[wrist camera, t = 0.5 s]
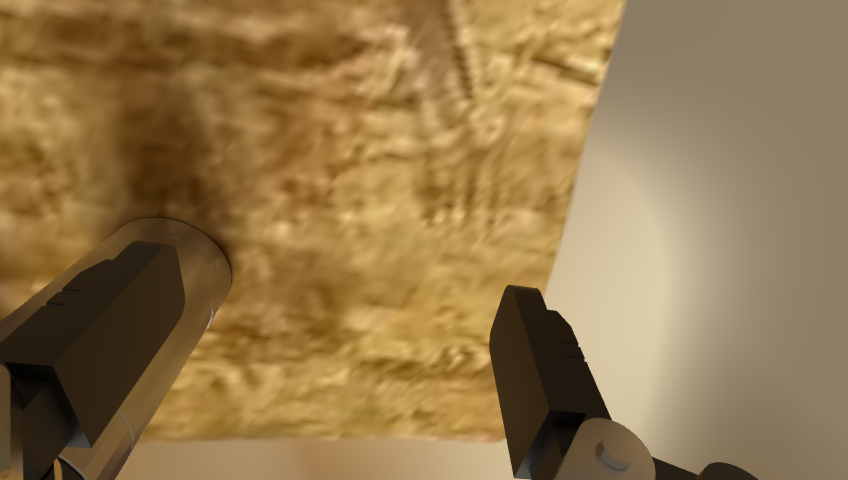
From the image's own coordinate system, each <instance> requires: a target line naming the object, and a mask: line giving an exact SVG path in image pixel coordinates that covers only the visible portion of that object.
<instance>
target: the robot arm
mask: <svg viewBox="0 0 848 480" xmlns="http://www.w3.org/2000/svg"><path fill="white" fill-rule="evenodd" d="M231 279H232V275H231V270H230V266H229V263H228V261H227V259H226V257H225V255H224V254H223V252H222V251H221V250H220V248H219V247H218V246H217V245H216V244H215V243H214V242H213V241H212V240H211V239H210V238H209V237H208V236H206V235H205V234H203V233H202V232H200V231H199V230H197V229H195V228H193V227H191V226H189V225H187V224H185V223H182V222H179V221H175V220H172V219H165V218H157V217H155V218H142V219H138V220H135V221H131V222H129V223H128V224H126V225H124V226H122V227H121V228H119V229H118V230H117V231H116V232H114V233H113V234H112V235H111V236H109V237H108V238H107V239H106V240H104V241H103V242H102V243H100V244H99V245H98V246H97V247H95V248H94V249H93V250H92V251H90V252H89V253H87V254H86V255H85V256H84V257H82V258H81V259H80V260H78V261H77V262H76V263H75V264H73V265H72V266H71V267H70V268H68V269H67V270H66V271H65V272H63V273H62V274H61V275H59V276H58V277H57V278H56V279H54V280H53V281H52V282H51V283H49V284H48V285H47V286H46V287H44V288H43V289H42V290H40V291H39V292H38V293H37V294H35V295H34V296H33V297H32V298H30V299H29V300H28V301H27V302H25V303H24V304H23V305H21V306H20V307H19V308H18V309H16V310H15V311H14V312H13V313H11V314H10V315H9V316H8V317H6V318H5V319H4V320H2V321H1V322H0V480H115V479H116V477H117V475H118V474H119V472H120V471H121V469H122V467H123V466H124V464H125V462H126V461H127V459H128V457H129V455H130V453H131V452H132V450H133V449H134V447H135V445H136V444H137V442H138V440H139V439H140V437H141V436H142V434H143V432H144V431H145V429H146V427H147V426H148V424H149V422H150V421H151V419H152V417H153V416H154V414H155V413H156V411H157V409H158V408H159V406H160V404H161V403H162V401H163V399H164V398H165V396H166V394H167V393H168V391H169V390H170V388H171V386H172V385H173V383H174V381H175V380H176V378H177V376H178V375H179V373H180V372H181V370H182V368H183V367H184V365H185V363H186V362H187V360H188V358H189V357H190V355H191V353H192V352H193V350H194V349H195V347H196V345H197V344H198V342H199V340H200V339H201V337H202V335H203V334H204V332H205V330H206V329H207V327H208V326H209V324H210V323H211V321H212V319H213V318H214V316H215V314H216V313H217V311H218V310H219V308H220V306H221V305H222V303H223V301H224V300H225V298H226V296H227V295H228V292H229V290H230V287H231ZM489 348H490V356H491V361H492V366H493V371H494V376H495V382H496V387H497V392H498V397H499V403H500V408H501V413H502V418H503V423H504V429H505V434H506V439H507V444H508V449H509V455H510V460H511V465H512V470H513V475H514V478H519V479H531V480H758V479H757V478H755V477H754V476H753V475H751V474H750V473H748V472H746V471H745V470H743V469H741V468H738V467H737V466H734V465H731V464H727V463H722V462H716V463H711V464H709V465H708V466H707V467H706V468H704V470H703V471H702V472H701V473H700V474H699V475H697V474H694V473H692V472H689V471H686V470H684V469H681V468H679V467H676V466H674V465H671V464H669V463H666V462H664V461H661V460H658V459H656V458H654V457H652V456H651V454H650V453H649V451H648V449H647V448H646V446H645V445H644V444H643V443H642V441H641V440H640V439H639V438H638V437H637V436H636V435H635V434H634V433H633V432H631V431H630V430H629V429H627V428H626V427H624V426H623V425H621V424H619V423H617V422H614V421H612V419H611V417H610V415H609V413H608V410H607V408H606V406H605V403H604V401H603V399H602V397H601V394H600V392H599V390H598V387H597V385H596V383H595V380H594V378H593V376H592V374H591V371H590V369H589V367H588V364H587V362H585V361H584V359H585V357H584V355H583V353H582V351H581V348H580V347H578V342H577V339H576V337H575V335H574V332H573V330H572V328H571V326H570V325H569V324H568V323H567V322H566V321H565V319H564V318H563V317H562V316H561V315H560V314H559V313H558V312H557V311H554V310H547V308H546V305H545V302H544V300H543V297H542V295H541V292H540V290H539V289H537V288H530V287H522V286H514V285H508V286H507V287H506V288H505V291H504V293H503V296H502V299H501V302H500V305H499V308H498V311H497V314H496V316H495V319H494V322H493V325H492V328H491V333H490V341H489Z"/></svg>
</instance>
